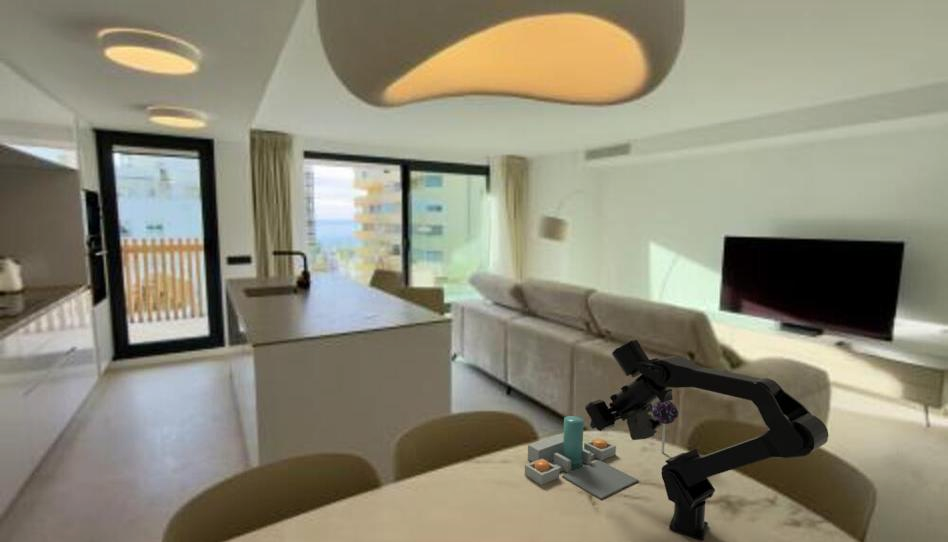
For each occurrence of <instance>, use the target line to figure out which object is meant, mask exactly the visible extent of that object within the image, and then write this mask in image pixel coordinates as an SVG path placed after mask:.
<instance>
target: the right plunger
mask: <svg viewBox="0 0 948 542" xmlns="http://www.w3.org/2000/svg"><path fill="white" fill-rule="evenodd" d="M593 440H594V441H593V446H595V447H597V448H599V449H604V448H606V447H607V442H608V441H607V440H605V439H603V438H600V439H597V438H594V439H593Z"/></svg>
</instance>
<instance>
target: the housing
mask: <svg viewBox="0 0 948 542" xmlns="http://www.w3.org/2000/svg"><path fill="white" fill-rule="evenodd" d="M563 436H564V432H562V433H559V434H557V435H552V436H550V437H547V438H544V439H542V440H538V441H536V442H532V443H529V444H527V460H528V461H530V462H529V463H527V464H524V475H525V476H526V477H528V478H530V479H531V480H533V481H534V482H536V484H539V485H541V486H543V485H546V484H547V483H550V482H553V481H556V480H558V479H560V472H565V473H566V474H567V473H569V472H571V471H572V469H571V460H570V459H568V458H566V457H564V456H562V455H563ZM596 439H601V438H599V437H598V438H596ZM593 441H594V439H592V440H589V441H586V442H583V444H584V445H583V453H582V457H583V463H584V464H586V465H588V464H591V463H592V459H598V460H600V461H604V460H606V459H608V457H609V458H612V457H613V456H615V455H616V453H617V449H616V448H617V445H615V444H612V443H611V442H608V441H607V447H606V448H604V449H599V448H597V447H595V446H593ZM536 460H546V461H548V462H549V470H548V471H545V472H543V473H541V472H540V471H538V470H536V469H535V461H536ZM551 461H553V462H552V463H551Z"/></svg>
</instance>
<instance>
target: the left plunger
mask: <svg viewBox="0 0 948 542" xmlns="http://www.w3.org/2000/svg"><path fill="white" fill-rule="evenodd" d="M549 463H550V461H549V462H548V461H546V460H536V461H535V469H536V470H538V471H540V472H541V473H543V472H545V471H548V470H549Z"/></svg>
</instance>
